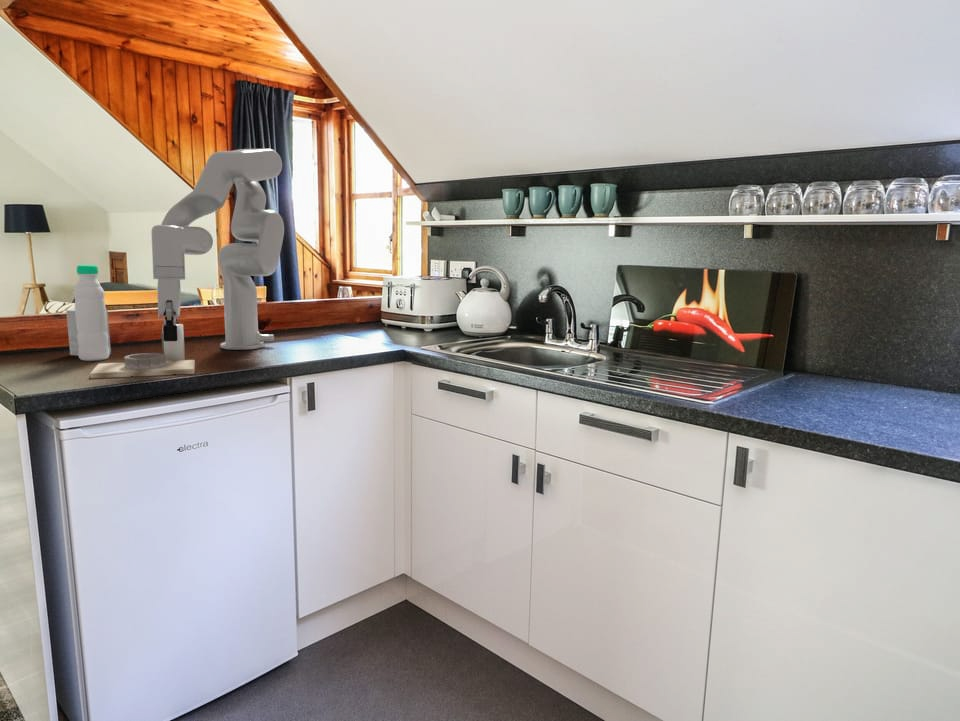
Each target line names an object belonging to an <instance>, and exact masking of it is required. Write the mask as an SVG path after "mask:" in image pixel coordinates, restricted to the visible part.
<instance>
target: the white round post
mask: <svg viewBox="0 0 960 721" xmlns="http://www.w3.org/2000/svg"><path fill="white" fill-rule="evenodd" d="M163 326H164V324H161V328H162V332H161V350H162V352H161V353H162V354H165V355H166V361H177V360H186V357H185V356H186V354H185V353H186V352H185V338H184V337H185V335H184V324H182V323H179V324H176V326H177V341H164V337H163Z"/></svg>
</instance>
